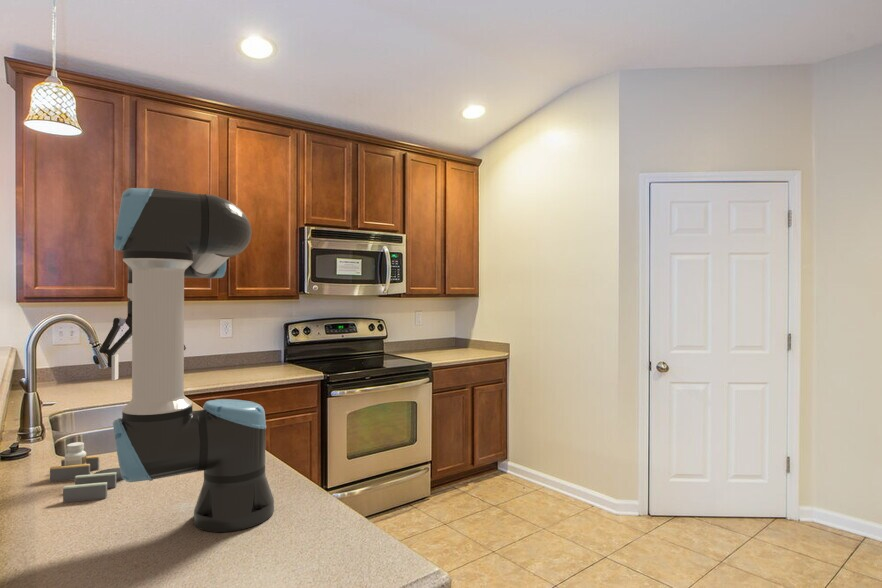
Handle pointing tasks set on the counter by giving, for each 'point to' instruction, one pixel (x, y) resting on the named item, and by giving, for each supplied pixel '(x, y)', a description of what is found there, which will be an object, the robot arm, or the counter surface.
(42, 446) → the counter surface
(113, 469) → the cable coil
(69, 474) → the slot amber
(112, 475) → the slot sage
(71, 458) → the pill bottle
